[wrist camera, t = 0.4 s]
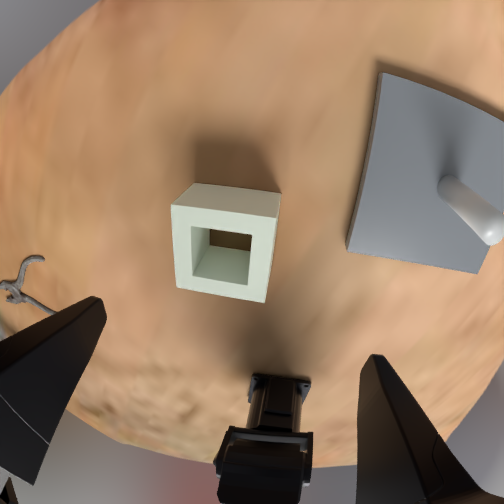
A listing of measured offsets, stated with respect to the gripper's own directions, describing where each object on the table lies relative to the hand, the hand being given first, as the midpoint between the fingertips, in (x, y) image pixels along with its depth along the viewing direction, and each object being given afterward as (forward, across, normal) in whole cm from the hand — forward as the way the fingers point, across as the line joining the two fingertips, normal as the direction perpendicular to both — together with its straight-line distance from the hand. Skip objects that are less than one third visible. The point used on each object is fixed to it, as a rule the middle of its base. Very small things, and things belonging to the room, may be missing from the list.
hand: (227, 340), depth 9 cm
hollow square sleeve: (+12, +2, +2) cm, 13 cm away
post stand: (+12, -12, -4) cm, 17 cm away
